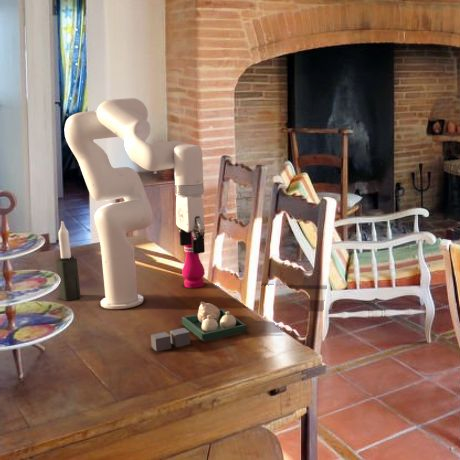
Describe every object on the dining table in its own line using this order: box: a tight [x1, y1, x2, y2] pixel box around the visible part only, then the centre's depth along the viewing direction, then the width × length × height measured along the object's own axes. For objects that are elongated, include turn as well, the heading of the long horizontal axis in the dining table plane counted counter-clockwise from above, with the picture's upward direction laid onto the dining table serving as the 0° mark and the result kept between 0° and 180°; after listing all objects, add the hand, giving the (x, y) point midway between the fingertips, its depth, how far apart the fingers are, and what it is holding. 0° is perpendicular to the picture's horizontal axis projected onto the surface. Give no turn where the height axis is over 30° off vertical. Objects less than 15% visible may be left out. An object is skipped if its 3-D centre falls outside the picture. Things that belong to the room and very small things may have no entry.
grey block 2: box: [169, 327, 191, 348], centre depth 215 cm, size 4×4×4 cm
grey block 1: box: [150, 331, 172, 352], centre depth 212 cm, size 4×4×4 cm
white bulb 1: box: [202, 315, 218, 333], centre depth 222 cm, size 4×4×5 cm
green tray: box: [181, 308, 248, 342], centre depth 227 cm, size 17×13×3 cm
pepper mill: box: [181, 232, 206, 289], centre depth 265 cm, size 7×7×20 cm
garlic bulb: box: [197, 300, 220, 323], centre depth 229 cm, size 7×6×8 cm
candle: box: [55, 220, 81, 302], centre depth 251 cm, size 5×5×25 cm
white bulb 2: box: [220, 310, 236, 329], centre depth 225 cm, size 4×4×5 cm
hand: (192, 248), depth 225 cm, fingers open, 9 cm apart
